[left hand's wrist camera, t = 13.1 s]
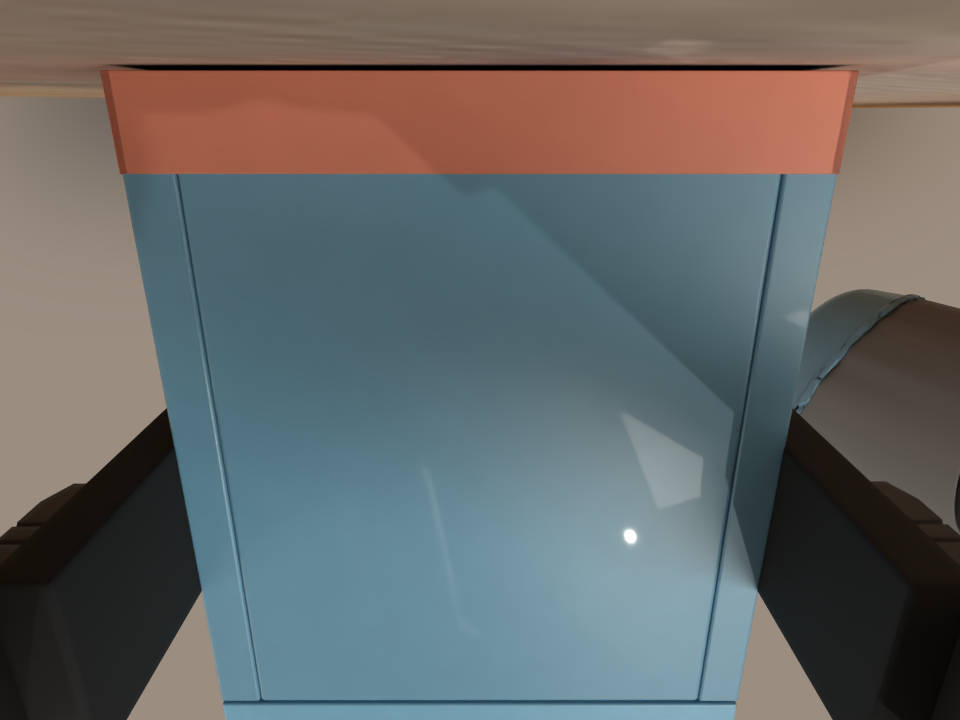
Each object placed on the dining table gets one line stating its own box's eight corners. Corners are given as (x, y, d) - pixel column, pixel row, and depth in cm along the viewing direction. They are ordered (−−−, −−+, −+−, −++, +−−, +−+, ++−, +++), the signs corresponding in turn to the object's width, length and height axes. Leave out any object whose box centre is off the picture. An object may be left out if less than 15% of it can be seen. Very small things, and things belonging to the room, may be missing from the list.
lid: (590, 366, 27) (579, 530, 30) (369, 366, 27) (379, 530, 30) (738, 704, 12) (686, 974, 15) (221, 704, 12) (272, 975, 15)
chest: (612, 98, 23) (594, 373, 26) (347, 98, 23) (365, 373, 26) (860, 70, 8) (738, 702, 12) (99, 70, 8) (220, 702, 12)
